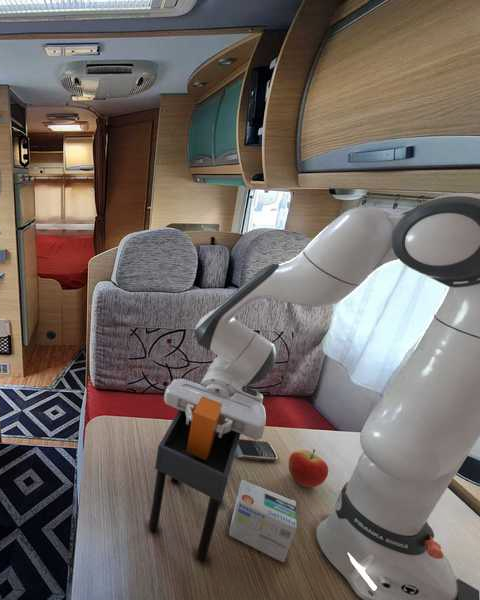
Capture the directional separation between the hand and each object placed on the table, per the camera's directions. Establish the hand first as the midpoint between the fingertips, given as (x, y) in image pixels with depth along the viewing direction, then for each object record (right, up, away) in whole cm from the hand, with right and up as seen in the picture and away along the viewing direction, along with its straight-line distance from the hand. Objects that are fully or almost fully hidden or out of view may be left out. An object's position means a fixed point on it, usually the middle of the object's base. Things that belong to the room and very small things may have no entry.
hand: (203, 428), depth 65 cm
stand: (0, -24, +10) cm, 26 cm away
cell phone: (+25, -18, +28) cm, 41 cm away
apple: (+33, -21, +19) cm, 44 cm away
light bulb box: (+14, -26, +6) cm, 30 cm away
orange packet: (0, -5, +3) cm, 6 cm away
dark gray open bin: (0, -7, +4) cm, 8 cm away
